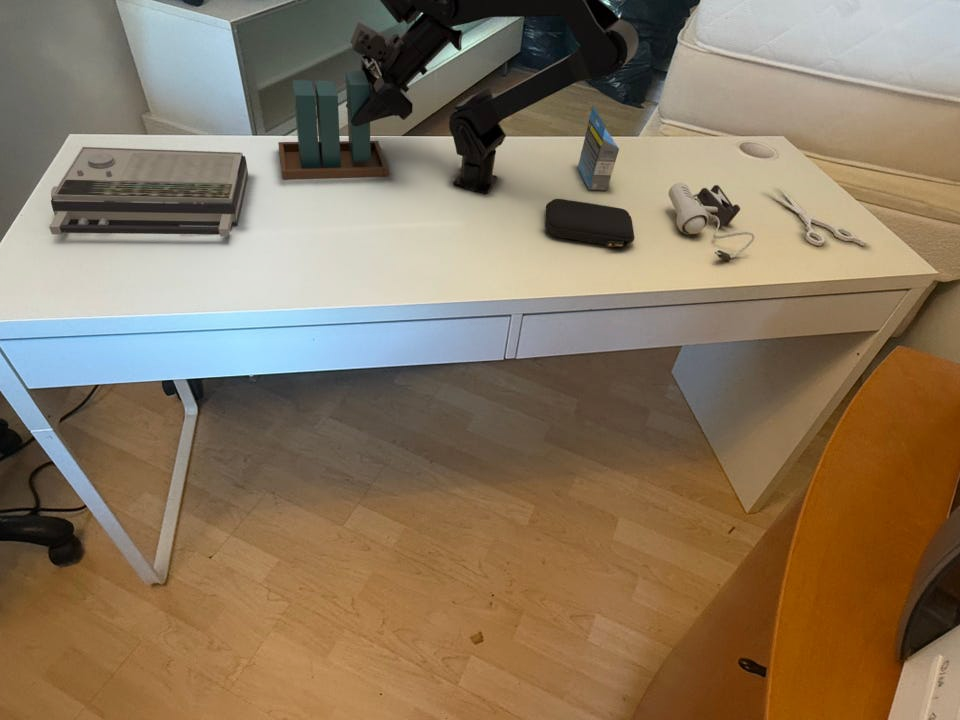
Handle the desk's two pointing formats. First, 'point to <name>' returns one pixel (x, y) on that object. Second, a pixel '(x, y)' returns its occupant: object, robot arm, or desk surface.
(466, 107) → the robot arm
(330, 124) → the teal book
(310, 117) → the teal book
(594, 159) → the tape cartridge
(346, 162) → the book tray
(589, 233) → the carrying case
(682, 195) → the clip-on lamp
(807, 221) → the scissors
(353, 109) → the slim teal book
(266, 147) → the desk surface
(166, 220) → the radio
